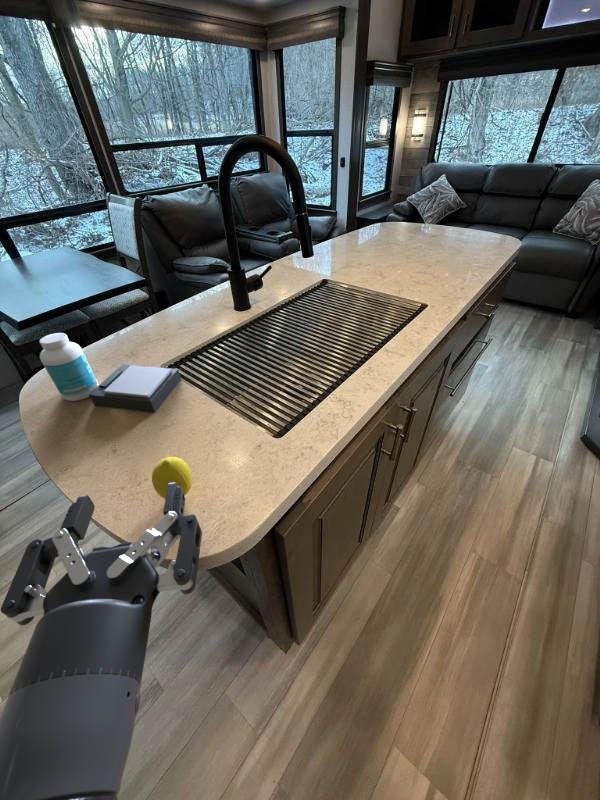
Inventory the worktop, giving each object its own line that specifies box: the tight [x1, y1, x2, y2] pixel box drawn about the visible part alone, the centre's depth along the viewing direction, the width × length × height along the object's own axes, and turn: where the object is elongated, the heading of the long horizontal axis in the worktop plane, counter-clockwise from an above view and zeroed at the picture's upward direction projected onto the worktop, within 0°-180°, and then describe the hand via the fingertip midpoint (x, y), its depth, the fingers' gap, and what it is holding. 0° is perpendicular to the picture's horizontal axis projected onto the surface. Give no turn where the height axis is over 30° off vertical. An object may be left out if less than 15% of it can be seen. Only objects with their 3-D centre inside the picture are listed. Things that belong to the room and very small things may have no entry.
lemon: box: [151, 456, 193, 499], centre depth 50 cm, size 6×6×8 cm
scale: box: [88, 363, 182, 413], centre depth 73 cm, size 14×12×4 cm
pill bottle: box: [39, 332, 100, 402], centre depth 70 cm, size 8×7×14 cm
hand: (131, 493), depth 34 cm, fingers open, 8 cm apart
